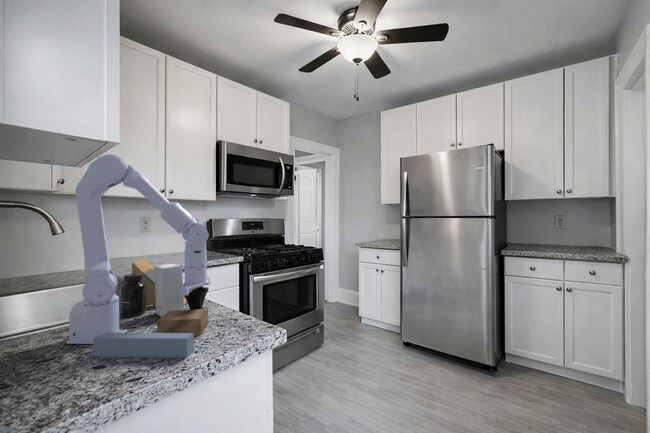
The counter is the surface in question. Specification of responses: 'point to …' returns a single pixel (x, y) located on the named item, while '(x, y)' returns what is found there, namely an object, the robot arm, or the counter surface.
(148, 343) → the slate block
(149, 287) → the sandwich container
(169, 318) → the walnut block
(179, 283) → the skincare box
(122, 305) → the supplement bottle
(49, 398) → the counter surface
